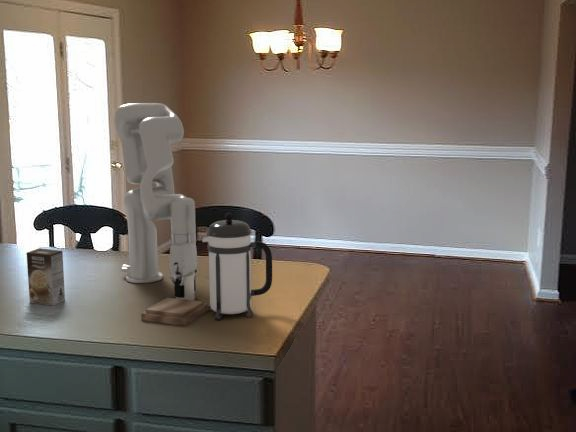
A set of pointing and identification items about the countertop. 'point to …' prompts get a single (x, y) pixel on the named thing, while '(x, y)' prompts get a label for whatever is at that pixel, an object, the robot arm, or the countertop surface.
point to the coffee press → (233, 267)
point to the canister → (188, 286)
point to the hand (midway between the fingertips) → (185, 293)
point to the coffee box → (45, 276)
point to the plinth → (174, 311)
